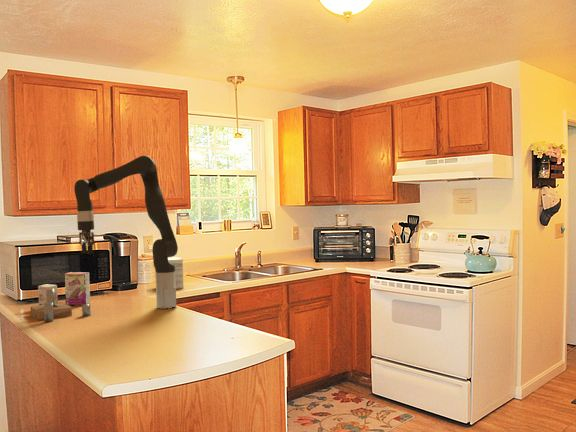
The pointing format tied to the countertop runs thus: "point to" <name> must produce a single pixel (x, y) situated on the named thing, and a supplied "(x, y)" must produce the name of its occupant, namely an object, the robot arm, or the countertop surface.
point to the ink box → (42, 293)
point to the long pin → (50, 296)
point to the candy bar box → (77, 288)
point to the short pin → (86, 310)
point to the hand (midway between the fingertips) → (87, 253)
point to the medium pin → (48, 312)
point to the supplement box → (177, 271)
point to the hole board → (58, 311)
